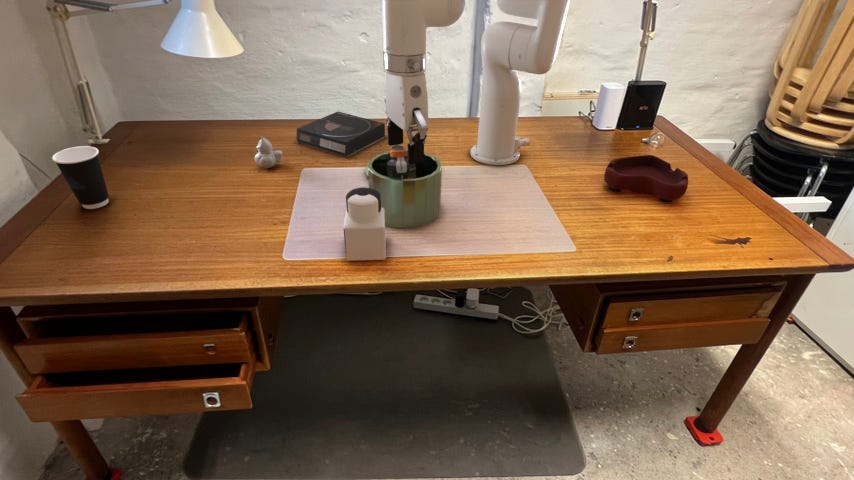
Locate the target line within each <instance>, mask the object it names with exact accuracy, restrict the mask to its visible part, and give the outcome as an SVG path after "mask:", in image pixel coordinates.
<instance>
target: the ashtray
mask: <svg viewBox="0 0 854 480" xmlns="http://www.w3.org/2000/svg"><path fill="white" fill-rule="evenodd" d="M603 180H604V182H605V183H606V185H607V186H608V187H607V189H608V190H609V191H611V192H615V193H620V192H622V191H630V192H633V193H637V194H640V195H644V196H645V195H646V196H655V197H656V198H658V200H659V201H660V202H662V203H666V204H671V203H673V202H674V201H676V200H678V199H680V198H682V197H684V195H685V194H686V192H687V190H688V187H689V186H688V185H689V175H688V173H687V172H685V171H684V170H682V169H680V168H678V167H676V168H675V169H672V165H671V163H670V162H667V160H664V159H663V158H660V157H658V156H655V155H653V154H644V155H633V156H626V157H625V156H624V157H618V158H613V159H611V160H610V161H609V163H608V164H607V166H606V168H605V171H604V175H603Z"/></svg>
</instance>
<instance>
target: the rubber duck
mask: <svg viewBox="0 0 854 480" xmlns="http://www.w3.org/2000/svg"><path fill="white" fill-rule="evenodd" d="M255 148H256V149H257V151H258V152H257V153H256V154H255V156H254V161H255V163H256V164H257V165H258V166H259V167H260V168H262V169H270V168H273V167H274V166H275V165H276V164H277V163H282V162H283V154H284V153H283V151H282V150H273V149H274V146H273V145H272V143H271V141H270V140H268V139H267V138H266V137H265V136H264V137H263V135H260V140H259V141H258V144H257V145H256V146H255Z"/></svg>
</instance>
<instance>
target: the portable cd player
mask: <svg viewBox="0 0 854 480" xmlns="http://www.w3.org/2000/svg"><path fill="white" fill-rule="evenodd" d="M295 139H296V141H297V142H298V144H301V145H304V146H307V147H310V148H314V149H316V150H320V151H323V152H327V153H330V154H334V155H337V156H340V157H343V158H349V157H351V156H353V155H355V154H357V153H359V152H360V151H362V150H364V149H366V148H368V147H370V146H372V145H374V144H376V143H377V142H380V141H381V140H384V139H386V123H385V122H380V121H376V120H373V119H369V118H366V117H361V116H357V115H354V114H350V113H346V112H342V111H336V112H332V113H331V114H328V115H326V116H324V117H321V118H318V119H316V120H314V121H311V122H309V123H306V124H304V125H301V126H299V127H296V138H295Z"/></svg>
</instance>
